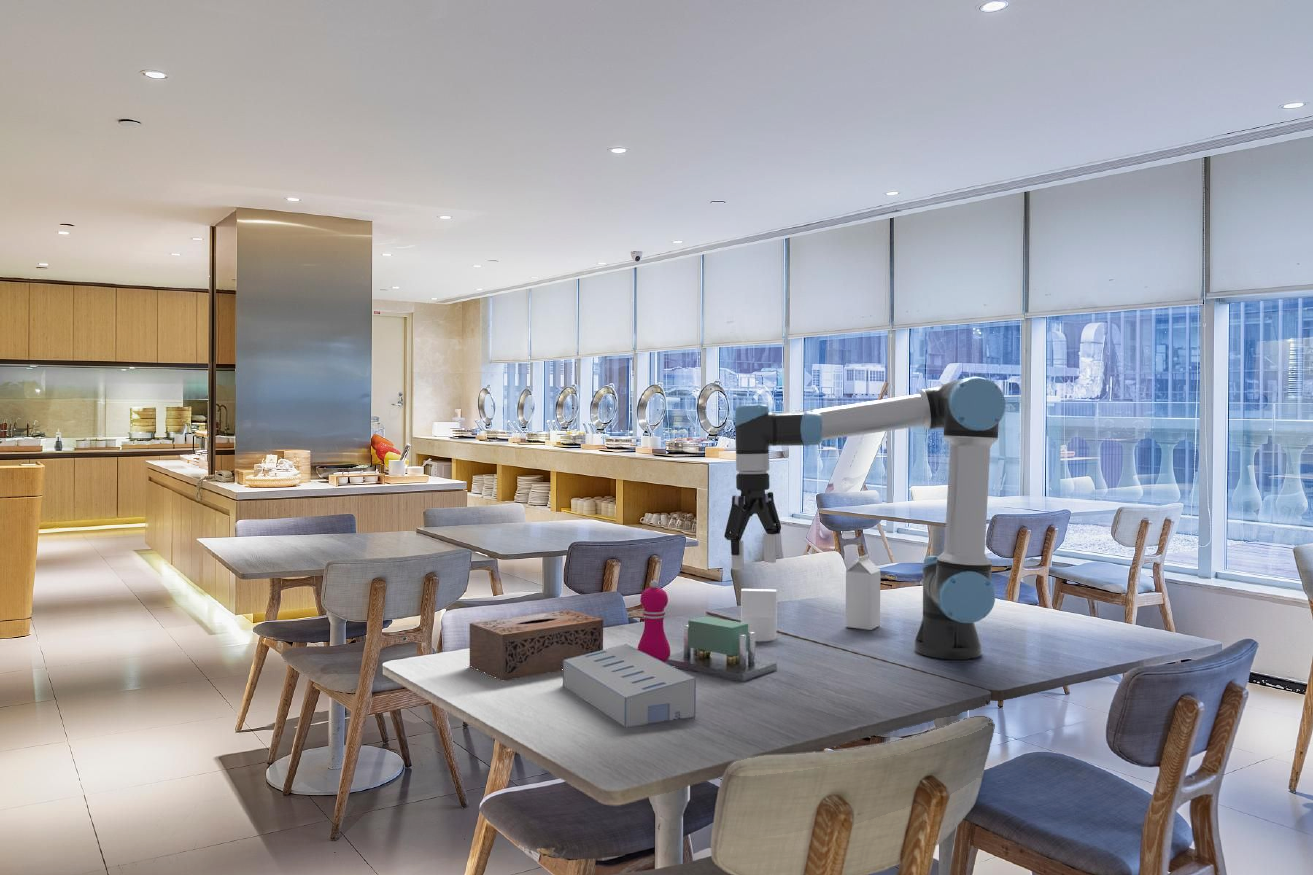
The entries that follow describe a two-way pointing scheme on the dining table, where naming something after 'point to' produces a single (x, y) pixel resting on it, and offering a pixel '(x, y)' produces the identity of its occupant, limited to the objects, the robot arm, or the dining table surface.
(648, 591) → the pepper mill
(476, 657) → the tissue box cover
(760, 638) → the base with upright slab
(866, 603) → the milk carton
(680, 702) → the warehouse
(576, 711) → the dining table surface
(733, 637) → the mint green rectangular block
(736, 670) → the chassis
